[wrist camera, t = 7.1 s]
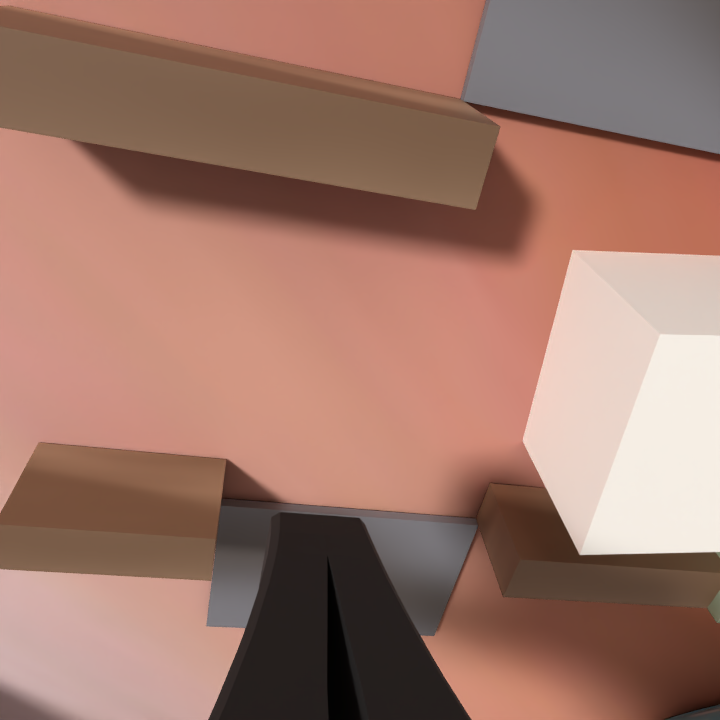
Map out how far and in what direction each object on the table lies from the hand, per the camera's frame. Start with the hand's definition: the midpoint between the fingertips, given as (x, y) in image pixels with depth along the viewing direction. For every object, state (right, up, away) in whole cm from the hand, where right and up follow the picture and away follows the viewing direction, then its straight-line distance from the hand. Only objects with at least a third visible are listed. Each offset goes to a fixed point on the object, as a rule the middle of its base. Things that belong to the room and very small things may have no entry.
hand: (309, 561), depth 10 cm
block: (+9, +3, +8) cm, 12 cm away
